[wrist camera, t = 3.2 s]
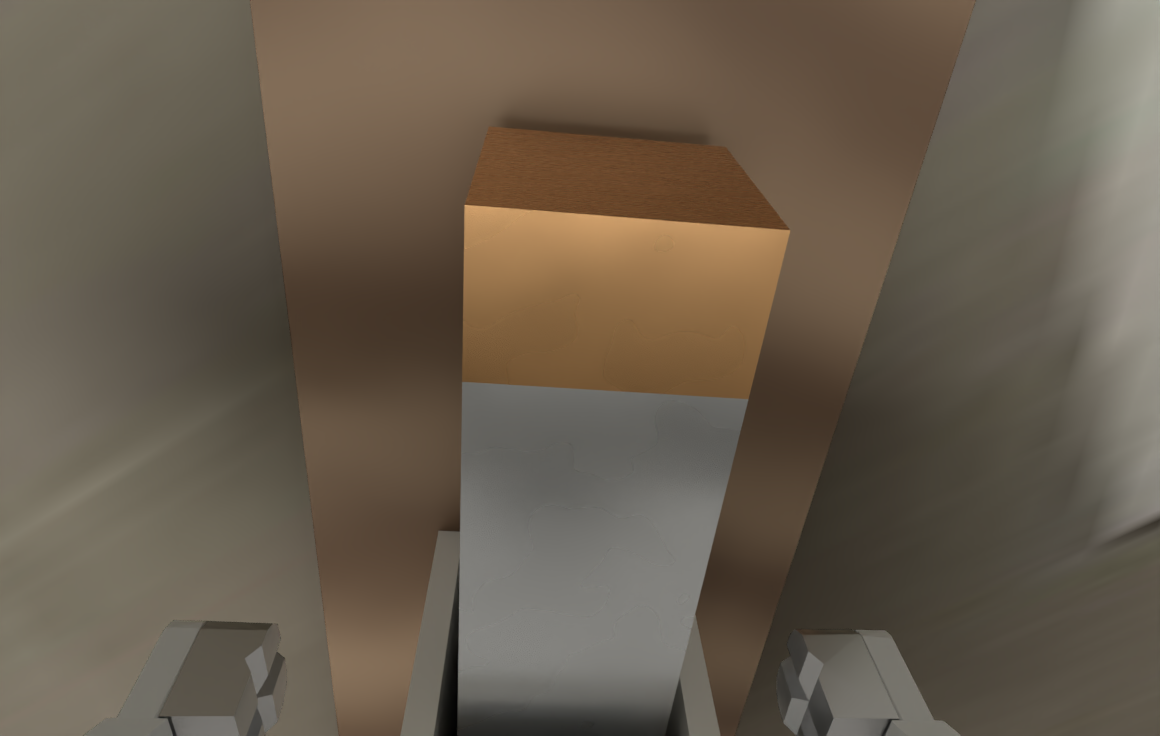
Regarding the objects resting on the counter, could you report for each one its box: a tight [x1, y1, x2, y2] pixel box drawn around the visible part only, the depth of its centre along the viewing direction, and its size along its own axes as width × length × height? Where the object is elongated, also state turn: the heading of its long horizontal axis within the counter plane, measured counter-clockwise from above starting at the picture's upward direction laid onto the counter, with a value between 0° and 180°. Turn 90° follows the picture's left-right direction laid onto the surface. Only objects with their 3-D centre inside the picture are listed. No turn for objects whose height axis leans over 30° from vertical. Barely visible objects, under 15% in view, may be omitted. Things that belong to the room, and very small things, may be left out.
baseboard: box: [250, 0, 976, 736], centre depth 16 cm, size 34×12×1 cm, turn 175°
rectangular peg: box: [457, 126, 790, 736], centre depth 16 cm, size 20×4×4 cm, turn 175°
